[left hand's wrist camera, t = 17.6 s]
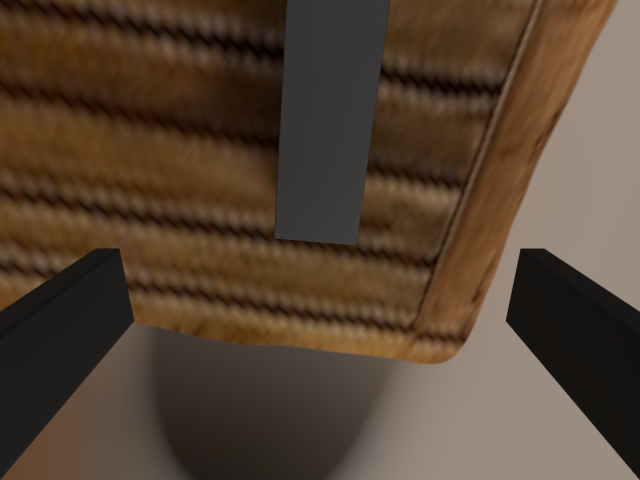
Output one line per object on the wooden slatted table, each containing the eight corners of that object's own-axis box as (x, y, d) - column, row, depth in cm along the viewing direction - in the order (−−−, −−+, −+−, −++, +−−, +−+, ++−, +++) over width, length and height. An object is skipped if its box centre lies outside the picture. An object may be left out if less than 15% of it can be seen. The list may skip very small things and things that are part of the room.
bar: (347, 210, 34) (356, 245, 26) (285, 204, 34) (273, 238, 26) (395, -170, 25) (433, -307, 17) (309, -180, 25) (304, -325, 16)
